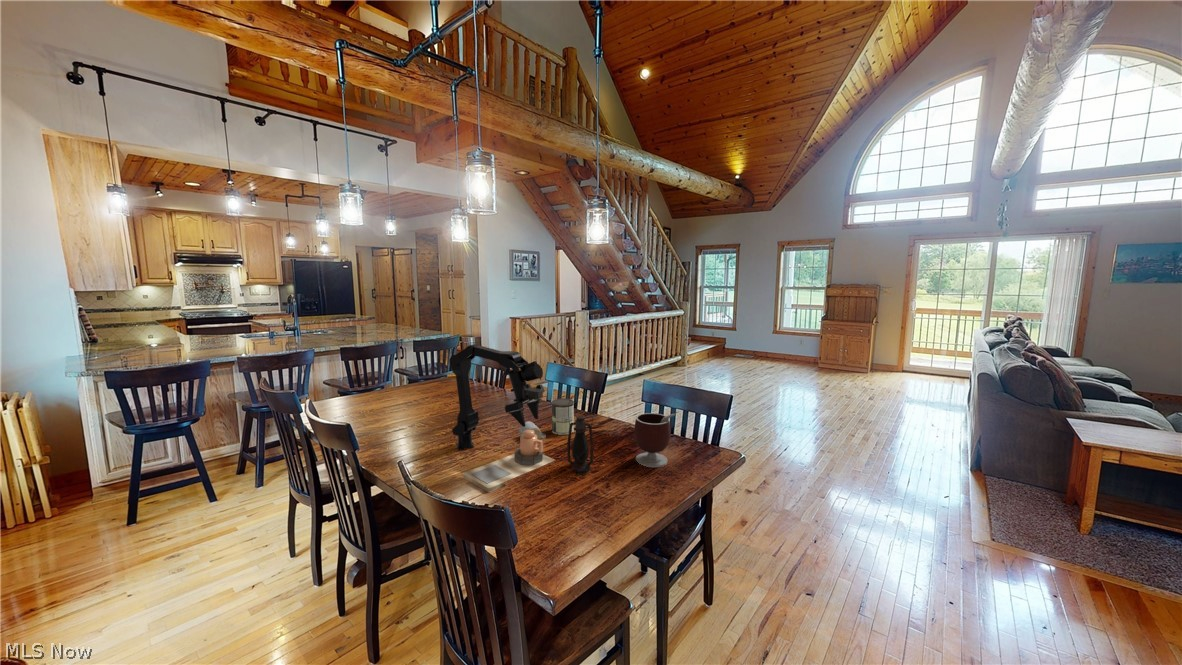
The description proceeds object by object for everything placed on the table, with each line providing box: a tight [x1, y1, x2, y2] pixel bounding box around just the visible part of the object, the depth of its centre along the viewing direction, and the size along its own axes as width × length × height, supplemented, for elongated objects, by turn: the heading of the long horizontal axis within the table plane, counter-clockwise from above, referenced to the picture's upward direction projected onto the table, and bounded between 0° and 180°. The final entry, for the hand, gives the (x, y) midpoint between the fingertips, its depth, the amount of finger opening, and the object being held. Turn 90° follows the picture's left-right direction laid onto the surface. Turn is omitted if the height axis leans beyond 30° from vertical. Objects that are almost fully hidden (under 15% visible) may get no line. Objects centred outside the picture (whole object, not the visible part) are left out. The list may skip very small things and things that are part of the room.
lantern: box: [566, 390, 595, 475], centre depth 156 cm, size 8×8×30 cm
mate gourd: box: [633, 412, 676, 468], centre depth 164 cm, size 16×14×20 cm
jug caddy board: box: [462, 446, 556, 493], centre depth 157 cm, size 30×16×4 cm, turn 137°
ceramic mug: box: [518, 421, 547, 440], centre depth 185 cm, size 11×8×8 cm
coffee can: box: [551, 398, 575, 436], centre depth 196 cm, size 10×10×14 cm
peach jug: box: [519, 430, 544, 456], centre depth 162 cm, size 9×6×11 cm
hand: (530, 422), depth 164 cm, fingers open, 9 cm apart
